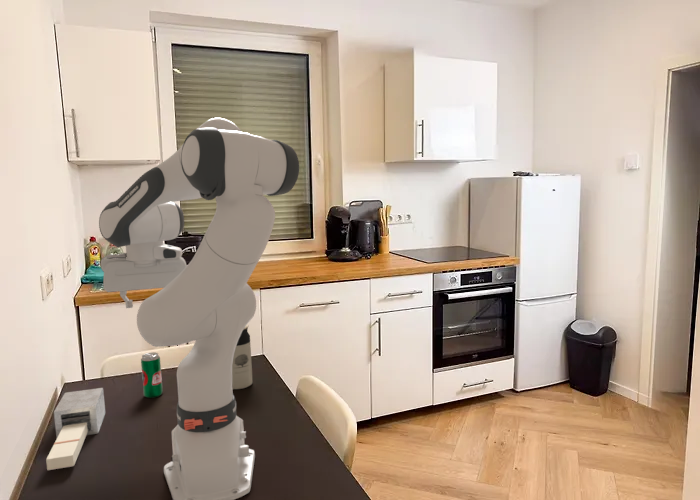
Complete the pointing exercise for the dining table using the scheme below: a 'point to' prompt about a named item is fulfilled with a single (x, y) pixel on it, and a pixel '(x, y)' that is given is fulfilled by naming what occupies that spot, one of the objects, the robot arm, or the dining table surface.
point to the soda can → (151, 375)
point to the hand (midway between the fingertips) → (149, 305)
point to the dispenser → (81, 410)
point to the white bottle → (242, 362)
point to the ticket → (67, 446)
